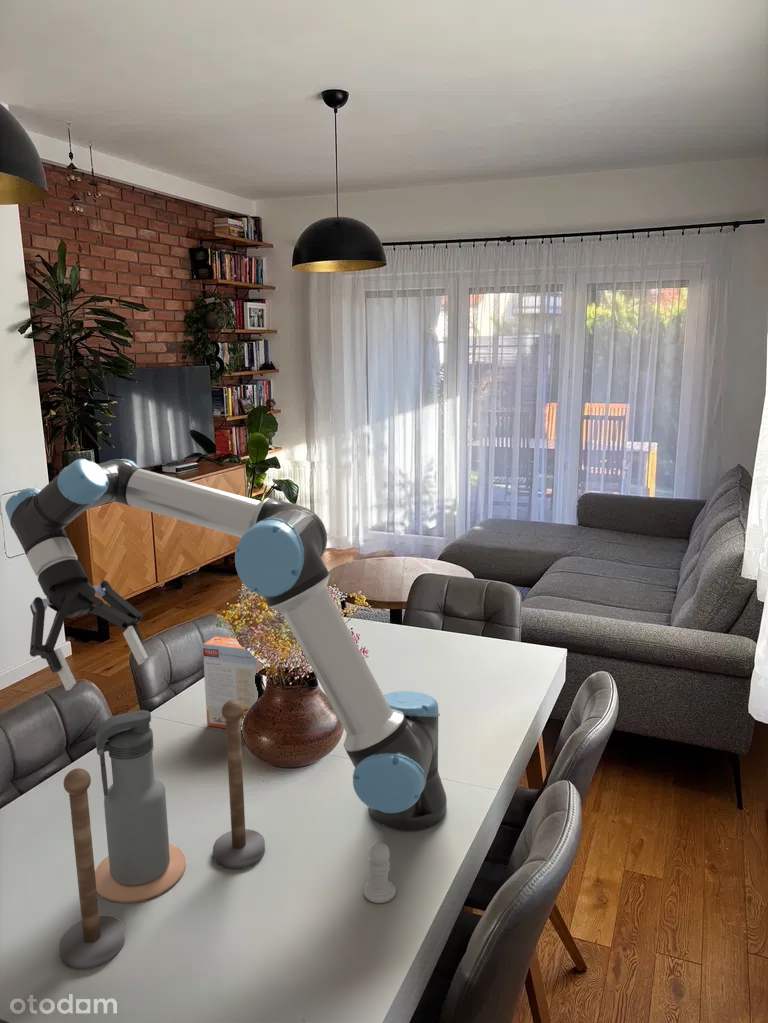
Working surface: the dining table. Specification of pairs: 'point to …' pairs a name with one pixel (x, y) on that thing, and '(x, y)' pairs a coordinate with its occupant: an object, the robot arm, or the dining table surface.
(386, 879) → the chess piece
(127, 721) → the water bottle
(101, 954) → the walnut post
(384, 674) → the dining table surface
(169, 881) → the glossy peach dome
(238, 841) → the walnut post
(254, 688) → the cracker box
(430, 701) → the robot arm
